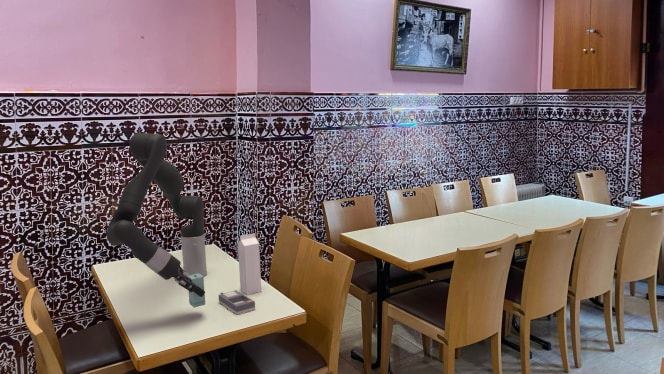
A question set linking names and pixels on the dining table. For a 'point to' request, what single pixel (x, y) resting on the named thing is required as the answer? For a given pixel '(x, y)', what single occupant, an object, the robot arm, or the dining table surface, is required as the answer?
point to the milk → (249, 264)
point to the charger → (193, 297)
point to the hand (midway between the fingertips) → (202, 291)
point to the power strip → (236, 302)
